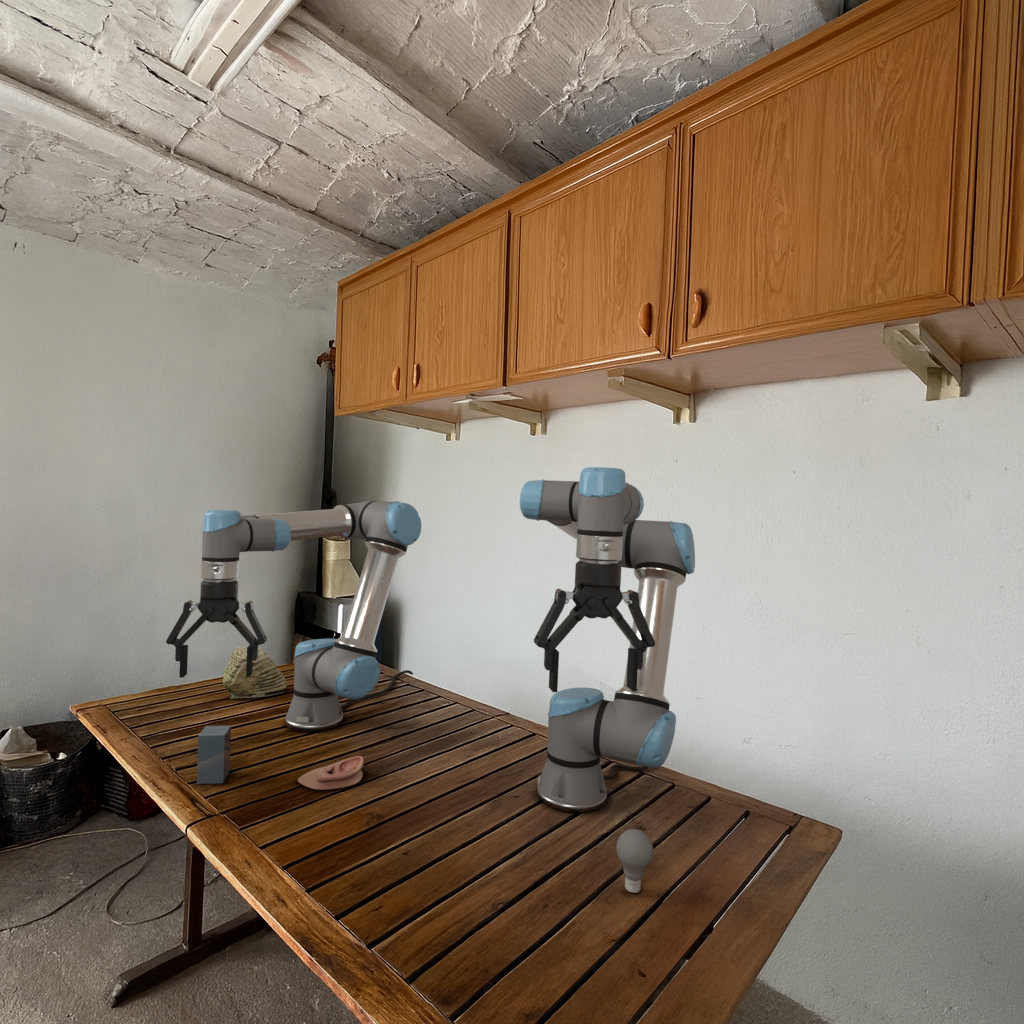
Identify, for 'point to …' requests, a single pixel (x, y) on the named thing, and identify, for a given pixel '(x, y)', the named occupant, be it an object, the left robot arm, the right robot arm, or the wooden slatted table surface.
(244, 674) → the fossil
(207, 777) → the brick
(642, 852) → the light bulb
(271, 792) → the wooden slatted table surface
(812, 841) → the wooden slatted table surface
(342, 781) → the anatomical model
